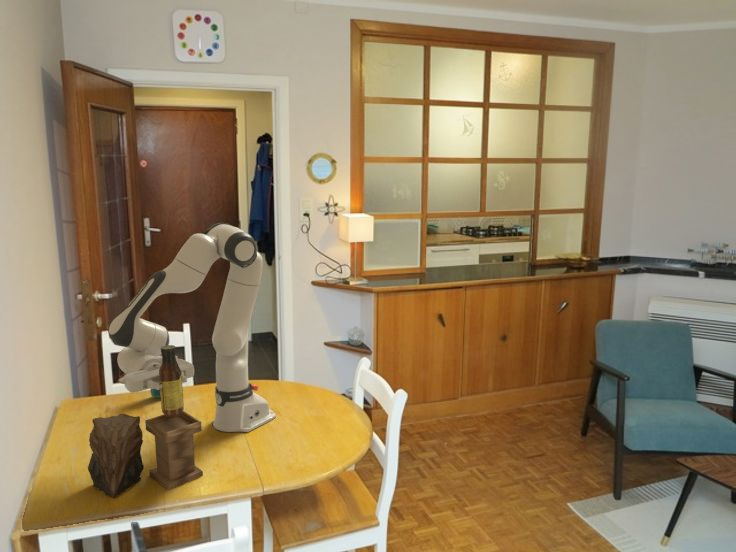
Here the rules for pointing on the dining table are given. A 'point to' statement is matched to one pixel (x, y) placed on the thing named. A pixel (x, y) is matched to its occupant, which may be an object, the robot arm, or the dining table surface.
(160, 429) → the display stand
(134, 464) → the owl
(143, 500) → the dining table surface
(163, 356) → the sauce bottle
